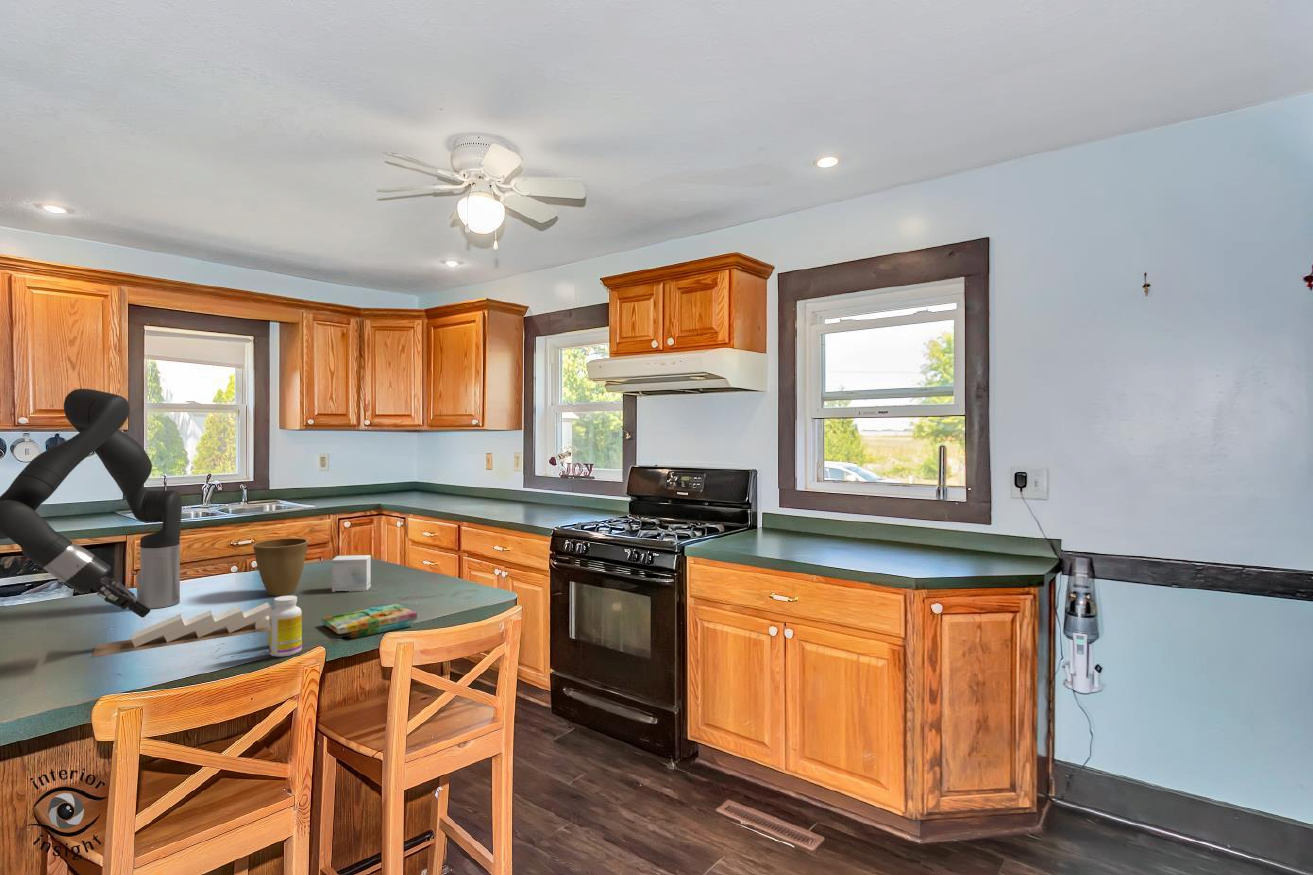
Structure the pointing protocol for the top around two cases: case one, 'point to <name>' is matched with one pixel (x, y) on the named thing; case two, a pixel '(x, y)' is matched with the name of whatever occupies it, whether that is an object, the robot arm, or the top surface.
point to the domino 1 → (157, 630)
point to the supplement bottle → (285, 627)
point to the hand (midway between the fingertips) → (147, 613)
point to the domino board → (161, 641)
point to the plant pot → (280, 564)
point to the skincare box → (351, 573)
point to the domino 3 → (221, 621)
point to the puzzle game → (371, 620)
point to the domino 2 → (191, 625)
